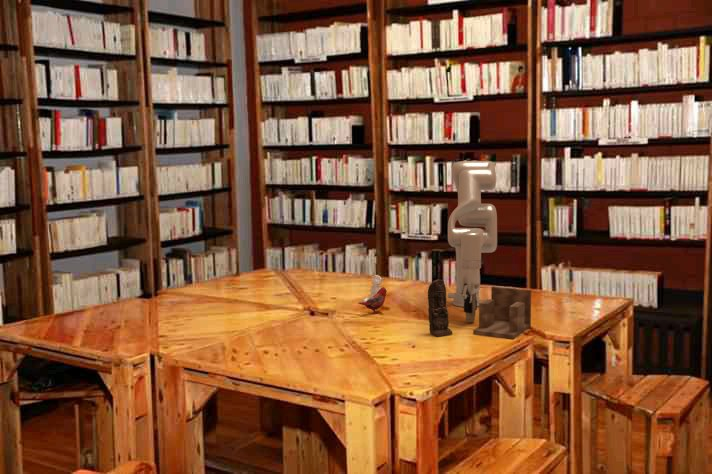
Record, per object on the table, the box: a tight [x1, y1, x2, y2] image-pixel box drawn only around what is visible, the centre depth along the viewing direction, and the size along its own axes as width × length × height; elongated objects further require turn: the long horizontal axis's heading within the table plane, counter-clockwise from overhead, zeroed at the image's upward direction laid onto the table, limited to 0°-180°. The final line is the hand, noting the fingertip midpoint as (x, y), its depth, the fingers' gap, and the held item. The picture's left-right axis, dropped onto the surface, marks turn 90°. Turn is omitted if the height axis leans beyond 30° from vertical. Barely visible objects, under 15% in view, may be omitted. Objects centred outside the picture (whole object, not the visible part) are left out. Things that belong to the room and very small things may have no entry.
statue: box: [427, 279, 453, 337], centre depth 291 cm, size 7×7×20 cm
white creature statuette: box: [361, 274, 385, 302], centre depth 343 cm, size 10×9×12 cm
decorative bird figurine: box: [357, 286, 388, 315], centre depth 323 cm, size 3×18×10 cm, turn 137°
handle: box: [464, 283, 479, 323], centre depth 307 cm, size 5×6×15 cm
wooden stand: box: [472, 285, 532, 340], centre depth 295 cm, size 15×20×14 cm
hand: (470, 310), depth 307 cm, fingers closed on handle, 3 cm apart
